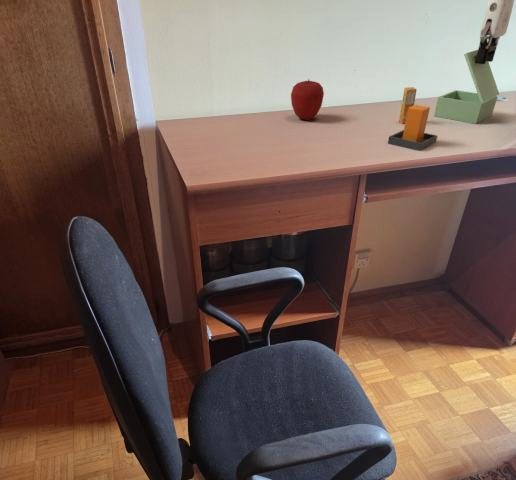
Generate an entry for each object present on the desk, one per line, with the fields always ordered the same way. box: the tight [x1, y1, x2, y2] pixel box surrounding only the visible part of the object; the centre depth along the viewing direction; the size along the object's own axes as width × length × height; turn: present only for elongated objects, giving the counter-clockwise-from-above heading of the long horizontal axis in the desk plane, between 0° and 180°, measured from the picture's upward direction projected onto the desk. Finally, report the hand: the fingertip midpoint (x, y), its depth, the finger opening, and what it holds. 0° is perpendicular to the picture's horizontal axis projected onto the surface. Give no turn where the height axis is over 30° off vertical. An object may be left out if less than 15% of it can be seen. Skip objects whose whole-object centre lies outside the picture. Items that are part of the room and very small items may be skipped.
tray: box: [387, 129, 438, 152], centre depth 131 cm, size 10×10×2 cm
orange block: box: [402, 104, 431, 143], centre depth 128 cm, size 4×4×9 cm
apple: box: [290, 78, 325, 121], centre depth 147 cm, size 11×11×12 cm
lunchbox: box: [433, 89, 498, 125], centre depth 152 cm, size 15×14×6 cm
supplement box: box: [398, 86, 417, 125], centre depth 144 cm, size 3×3×10 cm
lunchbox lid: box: [463, 45, 500, 103], centre depth 143 cm, size 15×14×6 cm
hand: (483, 61), depth 142 cm, fingers closed on lunchbox lid, 5 cm apart
